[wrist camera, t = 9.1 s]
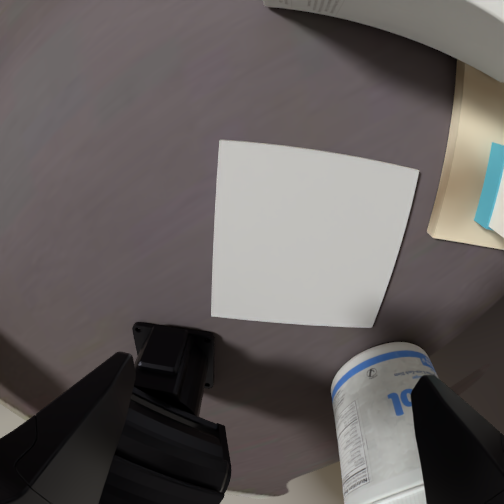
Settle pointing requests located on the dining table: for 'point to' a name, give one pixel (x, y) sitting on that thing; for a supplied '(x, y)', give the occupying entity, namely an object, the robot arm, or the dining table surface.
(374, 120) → the dining table surface
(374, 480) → the supplement tub
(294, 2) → the skincare box
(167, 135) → the dining table surface
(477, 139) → the pin board
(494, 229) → the sleeve
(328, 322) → the mat
